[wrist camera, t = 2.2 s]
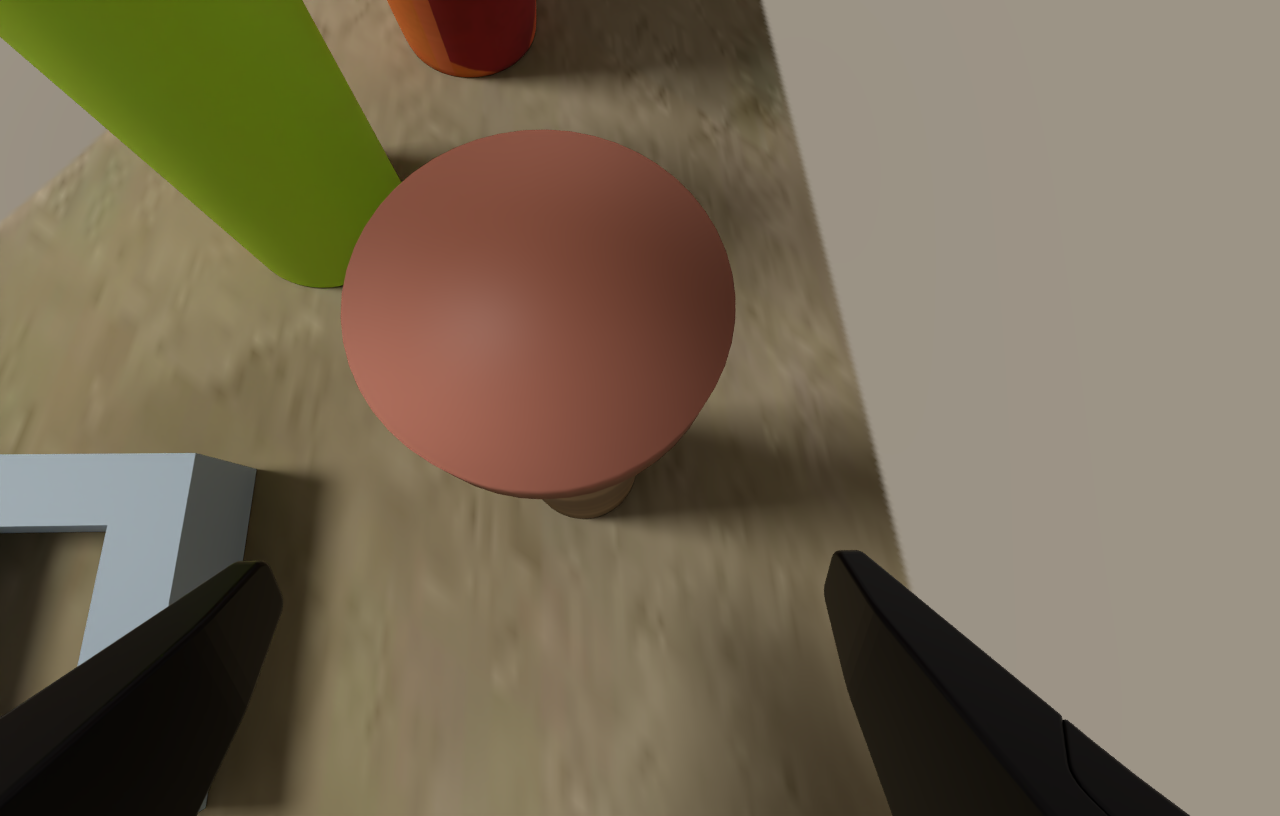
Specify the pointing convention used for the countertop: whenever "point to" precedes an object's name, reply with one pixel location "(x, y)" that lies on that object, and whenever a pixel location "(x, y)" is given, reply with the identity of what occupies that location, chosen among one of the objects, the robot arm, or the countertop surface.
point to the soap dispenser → (224, 115)
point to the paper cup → (467, 33)
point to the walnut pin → (539, 315)
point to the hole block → (133, 525)
